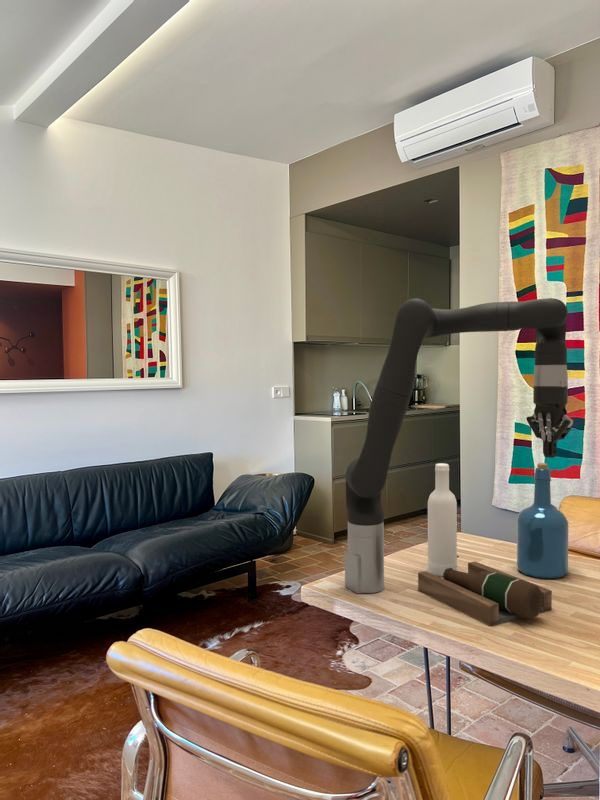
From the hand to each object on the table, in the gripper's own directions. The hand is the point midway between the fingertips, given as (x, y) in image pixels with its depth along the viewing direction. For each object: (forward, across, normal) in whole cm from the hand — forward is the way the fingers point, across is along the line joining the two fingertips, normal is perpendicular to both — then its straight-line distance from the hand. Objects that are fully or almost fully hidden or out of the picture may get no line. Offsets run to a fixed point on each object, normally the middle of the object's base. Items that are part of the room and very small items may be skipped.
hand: (549, 457), depth 145 cm
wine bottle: (+35, -16, +16) cm, 42 cm away
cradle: (+35, -8, -13) cm, 38 cm away
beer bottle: (+30, +8, -13) cm, 34 cm away
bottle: (+35, -29, -9) cm, 46 cm away
